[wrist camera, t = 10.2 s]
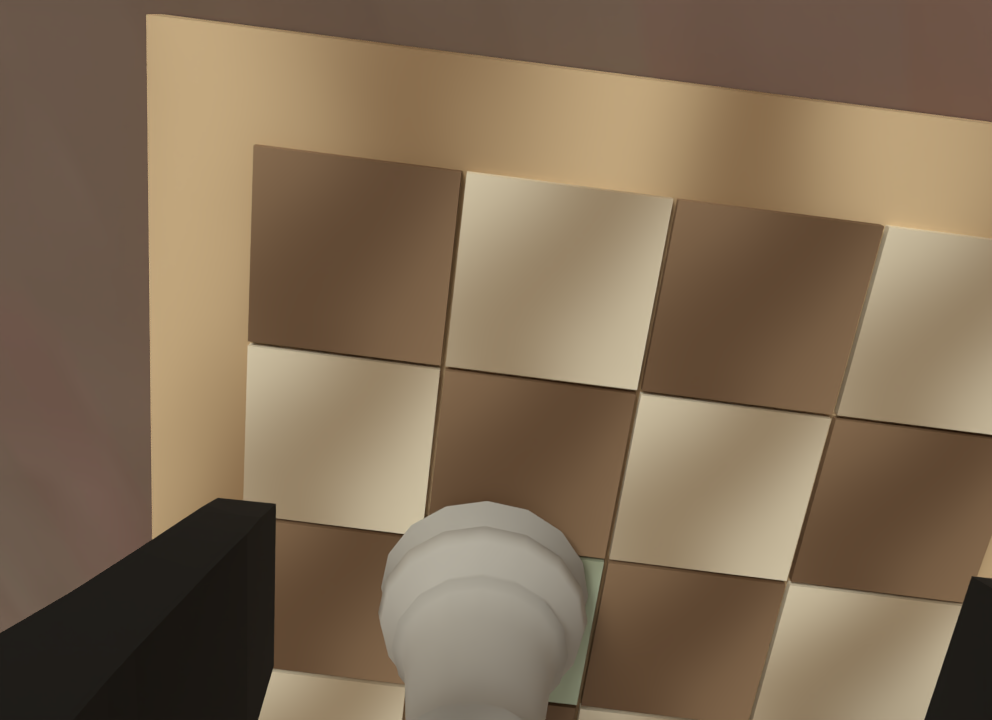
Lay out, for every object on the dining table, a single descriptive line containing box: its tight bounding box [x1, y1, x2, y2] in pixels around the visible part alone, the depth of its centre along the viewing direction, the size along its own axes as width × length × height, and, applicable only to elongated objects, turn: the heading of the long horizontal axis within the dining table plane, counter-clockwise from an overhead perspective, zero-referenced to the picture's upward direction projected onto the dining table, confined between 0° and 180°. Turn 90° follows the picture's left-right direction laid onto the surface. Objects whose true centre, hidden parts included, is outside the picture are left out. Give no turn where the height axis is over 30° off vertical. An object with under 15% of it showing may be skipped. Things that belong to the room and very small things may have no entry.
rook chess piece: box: [378, 501, 588, 720], centre depth 17 cm, size 4×4×8 cm
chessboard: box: [146, 14, 992, 720], centre depth 21 cm, size 20×20×1 cm
